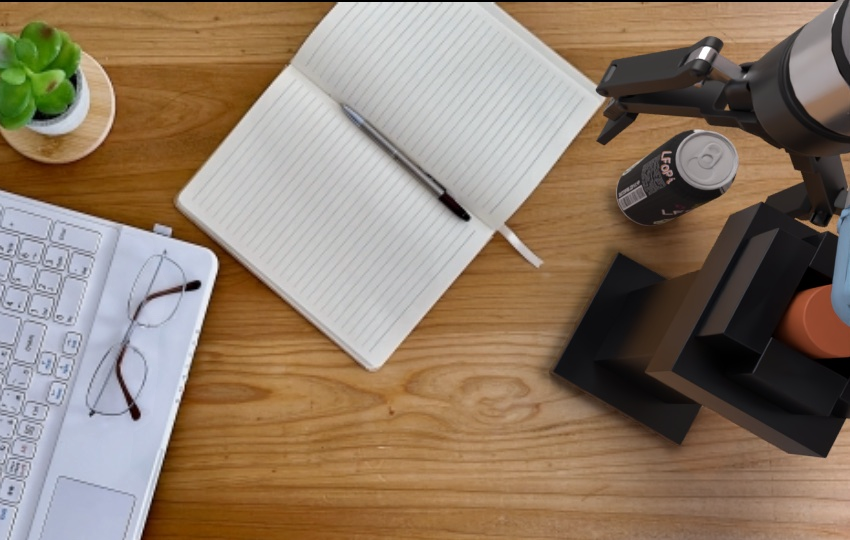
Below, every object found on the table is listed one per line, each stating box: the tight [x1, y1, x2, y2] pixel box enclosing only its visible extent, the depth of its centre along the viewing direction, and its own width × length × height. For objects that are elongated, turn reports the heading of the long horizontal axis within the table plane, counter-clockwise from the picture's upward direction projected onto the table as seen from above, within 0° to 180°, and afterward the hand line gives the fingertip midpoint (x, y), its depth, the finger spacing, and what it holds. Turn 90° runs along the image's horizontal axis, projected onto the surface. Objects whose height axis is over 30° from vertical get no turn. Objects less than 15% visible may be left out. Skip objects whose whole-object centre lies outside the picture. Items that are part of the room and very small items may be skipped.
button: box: [773, 284, 850, 359], centre depth 48 cm, size 4×4×3 cm
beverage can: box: [615, 128, 740, 227], centre depth 70 cm, size 6×6×12 cm
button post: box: [548, 200, 850, 459], centre depth 61 cm, size 12×12×26 cm
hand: (685, 170), depth 68 cm, fingers open, 13 cm apart
